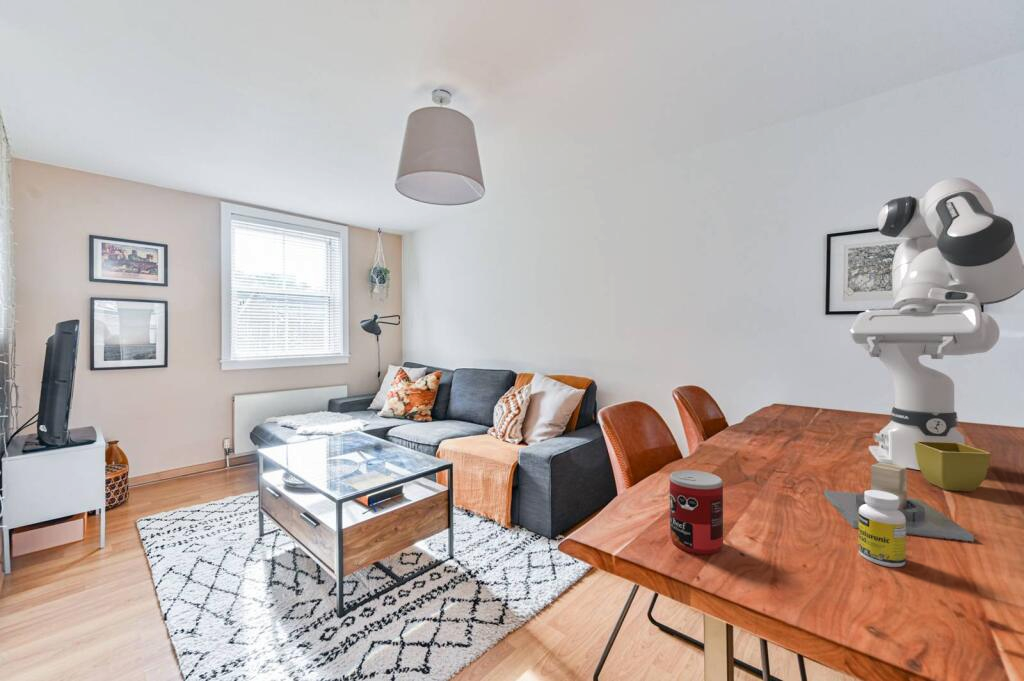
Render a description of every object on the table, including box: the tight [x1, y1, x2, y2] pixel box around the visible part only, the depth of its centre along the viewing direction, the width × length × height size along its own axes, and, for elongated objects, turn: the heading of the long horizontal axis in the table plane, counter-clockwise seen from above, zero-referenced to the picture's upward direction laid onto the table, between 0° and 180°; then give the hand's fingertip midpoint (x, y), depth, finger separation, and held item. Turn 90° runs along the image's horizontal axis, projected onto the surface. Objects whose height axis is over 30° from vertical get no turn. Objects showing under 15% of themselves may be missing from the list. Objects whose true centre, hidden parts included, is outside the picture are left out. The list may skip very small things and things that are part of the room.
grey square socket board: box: [823, 489, 975, 543], centre depth 80 cm, size 16×16×3 cm
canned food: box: [669, 469, 724, 555], centre depth 70 cm, size 8×8×11 cm
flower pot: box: [914, 441, 992, 492], centre depth 94 cm, size 9×9×9 cm
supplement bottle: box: [858, 489, 907, 568], centre depth 65 cm, size 5×5×10 cm
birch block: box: [870, 461, 908, 509], centre depth 80 cm, size 4×4×8 cm
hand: (903, 356), depth 86 cm, fingers open, 8 cm apart
